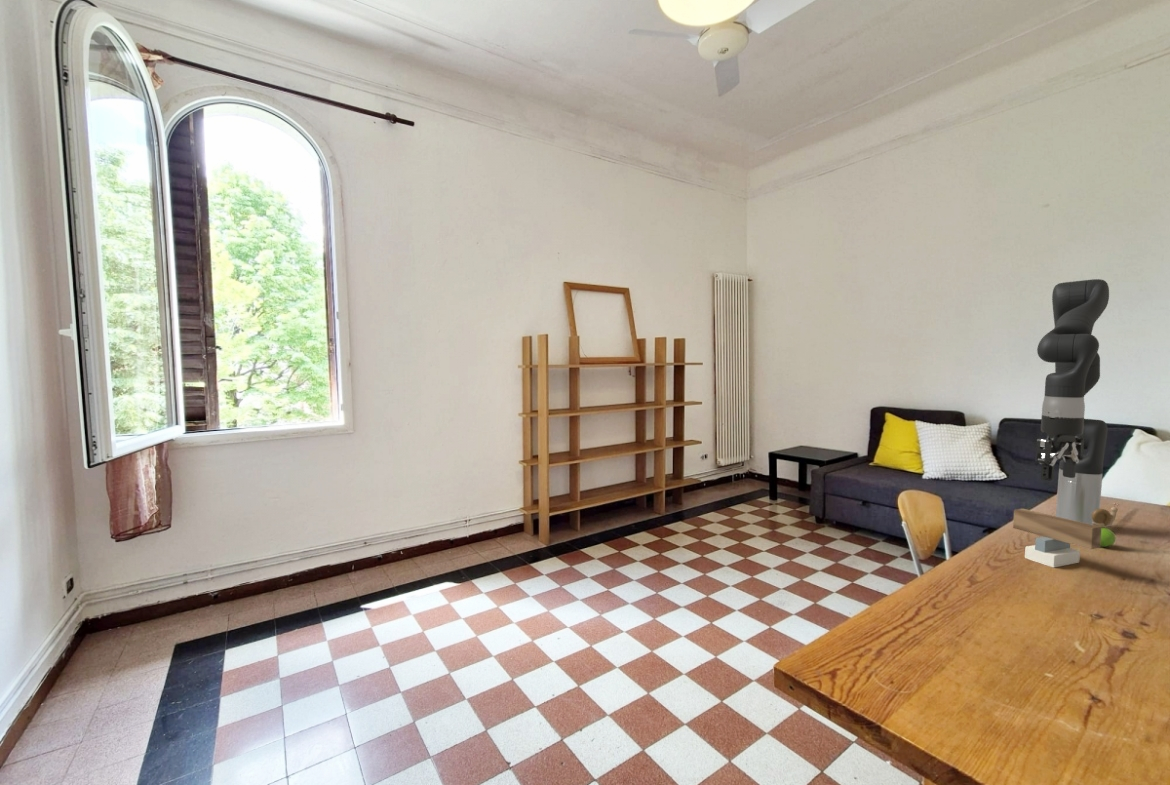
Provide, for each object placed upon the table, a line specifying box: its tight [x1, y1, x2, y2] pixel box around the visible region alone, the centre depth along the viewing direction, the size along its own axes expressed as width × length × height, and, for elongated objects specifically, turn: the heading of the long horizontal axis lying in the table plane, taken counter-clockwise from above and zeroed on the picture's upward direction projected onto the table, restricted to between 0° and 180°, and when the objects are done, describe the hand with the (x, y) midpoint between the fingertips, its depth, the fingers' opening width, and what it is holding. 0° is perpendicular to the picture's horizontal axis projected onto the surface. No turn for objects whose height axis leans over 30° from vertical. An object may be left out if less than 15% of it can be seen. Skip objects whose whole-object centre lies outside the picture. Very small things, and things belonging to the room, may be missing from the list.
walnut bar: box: [1012, 508, 1102, 550], centre depth 122 cm, size 4×16×5 cm, turn 18°
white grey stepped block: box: [1024, 536, 1081, 568], centre depth 122 cm, size 10×6×6 cm, turn 108°
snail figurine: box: [1091, 502, 1120, 548], centre depth 132 cm, size 5×6×12 cm
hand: (1057, 478), depth 121 cm, fingers open, 8 cm apart
